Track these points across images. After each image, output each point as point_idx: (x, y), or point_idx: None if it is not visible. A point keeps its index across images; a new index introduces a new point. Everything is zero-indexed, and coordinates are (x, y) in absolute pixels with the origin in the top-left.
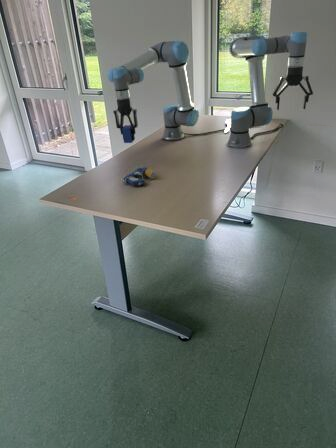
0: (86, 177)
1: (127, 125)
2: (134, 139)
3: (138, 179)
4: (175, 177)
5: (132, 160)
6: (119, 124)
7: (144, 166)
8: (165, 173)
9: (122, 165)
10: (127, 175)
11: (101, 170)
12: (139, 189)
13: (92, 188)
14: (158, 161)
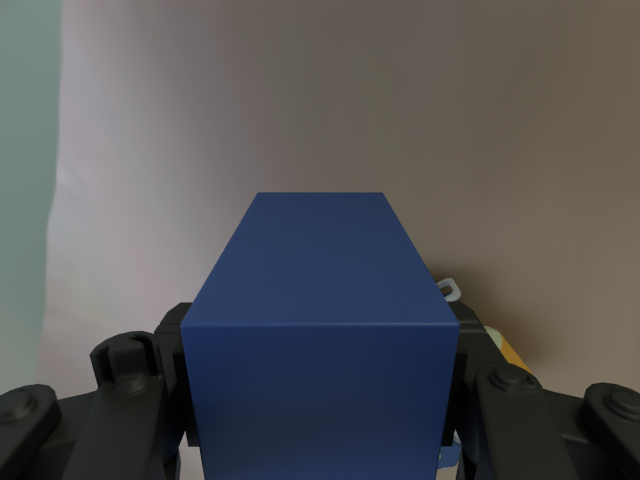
0: (71, 350)
1: (281, 345)
2: (383, 196)
3: (439, 457)
4: (633, 340)
5: (269, 24)
6: (16, 476)
7: (450, 300)
8: (574, 288)
9: (223, 150)
10: None
11: (103, 247)
12: None
13: (193, 460)
14: (520, 53)
